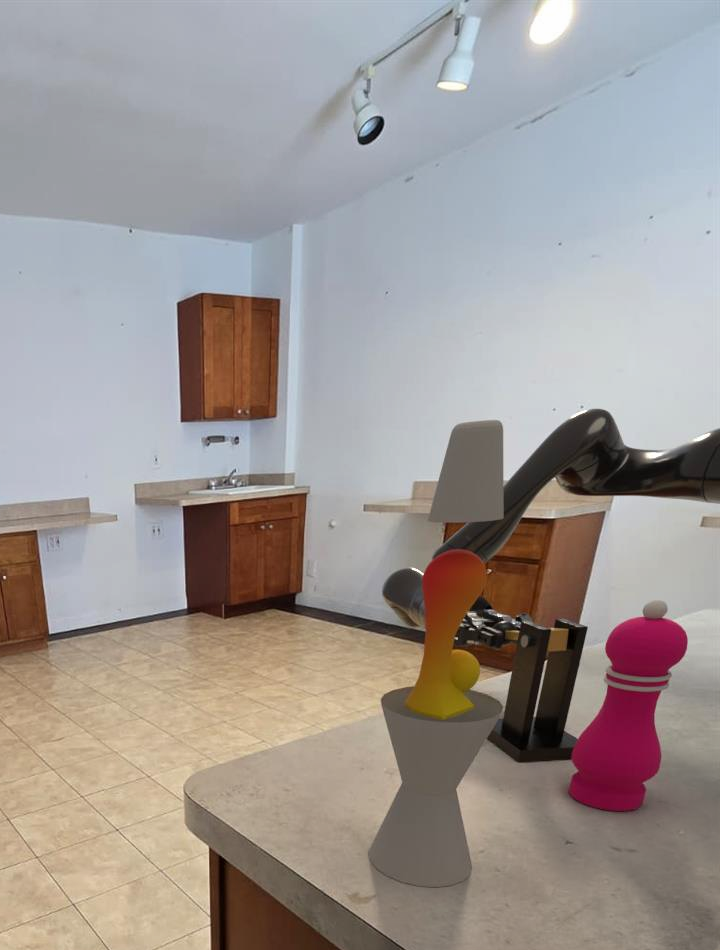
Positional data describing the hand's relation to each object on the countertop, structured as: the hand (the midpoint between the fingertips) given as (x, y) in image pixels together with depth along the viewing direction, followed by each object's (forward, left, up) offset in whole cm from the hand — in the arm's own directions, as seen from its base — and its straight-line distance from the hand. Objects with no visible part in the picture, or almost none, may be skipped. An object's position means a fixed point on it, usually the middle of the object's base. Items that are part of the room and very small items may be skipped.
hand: (514, 640), depth 80 cm
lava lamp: (+15, +35, -11) cm, 40 cm away
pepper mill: (-5, +21, -11) cm, 24 cm away
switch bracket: (-2, +7, -11) cm, 13 cm away
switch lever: (-1, +2, -1) cm, 2 cm away
